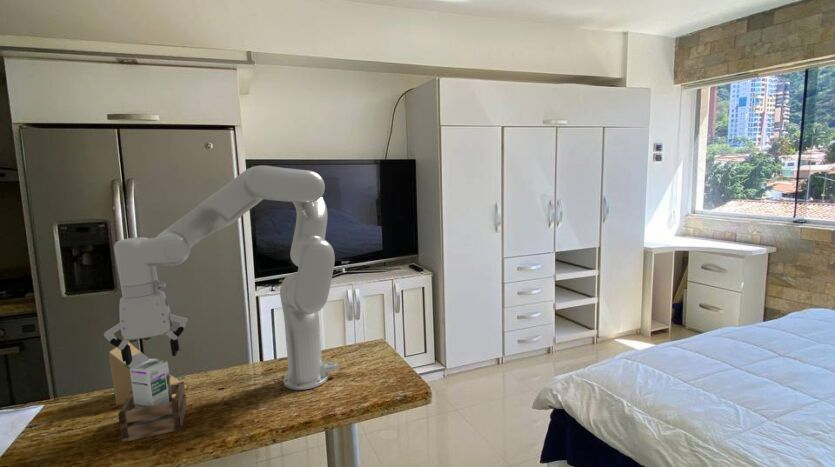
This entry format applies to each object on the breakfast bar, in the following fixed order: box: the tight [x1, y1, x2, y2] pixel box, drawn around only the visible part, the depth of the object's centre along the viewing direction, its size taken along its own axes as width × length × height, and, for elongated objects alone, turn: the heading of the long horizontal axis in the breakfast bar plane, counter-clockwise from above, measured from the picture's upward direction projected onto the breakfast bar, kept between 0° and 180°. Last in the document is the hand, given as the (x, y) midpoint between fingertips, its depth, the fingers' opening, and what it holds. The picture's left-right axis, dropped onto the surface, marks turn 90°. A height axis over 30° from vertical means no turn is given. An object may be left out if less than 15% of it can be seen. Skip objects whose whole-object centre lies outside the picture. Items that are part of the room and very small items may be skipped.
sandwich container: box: [108, 341, 188, 405], centre depth 122 cm, size 9×15×15 cm, turn 94°
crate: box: [118, 381, 188, 443], centre depth 108 cm, size 12×12×7 cm
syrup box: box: [130, 358, 173, 424], centre depth 107 cm, size 6×6×14 cm
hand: (152, 358), depth 107 cm, fingers open, 9 cm apart
